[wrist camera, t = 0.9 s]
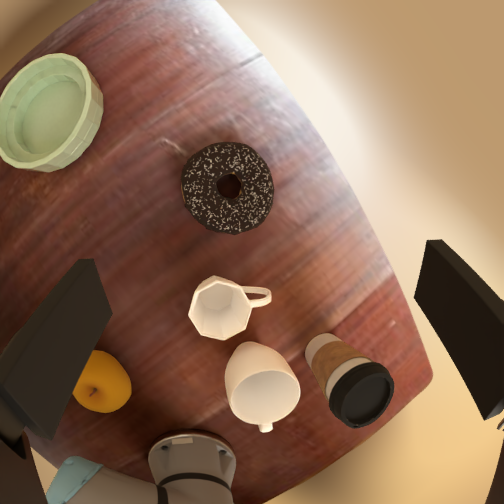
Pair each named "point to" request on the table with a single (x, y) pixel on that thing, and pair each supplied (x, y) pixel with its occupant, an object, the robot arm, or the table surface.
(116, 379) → the apple
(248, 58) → the table surface
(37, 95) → the serving bowl
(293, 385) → the mug
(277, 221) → the table surface
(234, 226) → the donut
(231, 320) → the cup
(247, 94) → the table surface
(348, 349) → the coffee cup
